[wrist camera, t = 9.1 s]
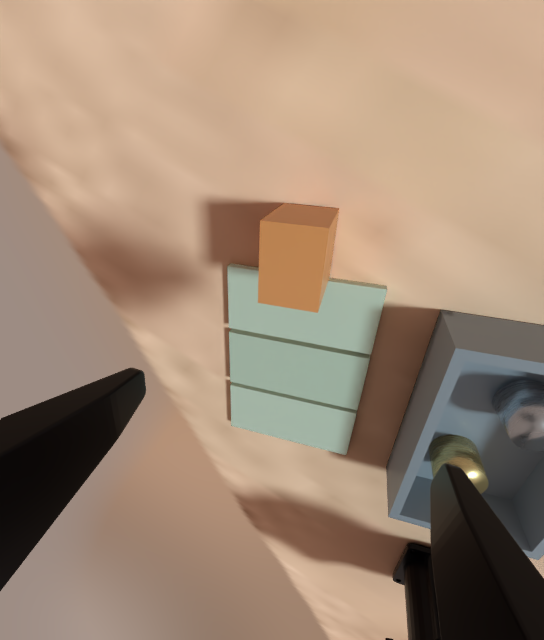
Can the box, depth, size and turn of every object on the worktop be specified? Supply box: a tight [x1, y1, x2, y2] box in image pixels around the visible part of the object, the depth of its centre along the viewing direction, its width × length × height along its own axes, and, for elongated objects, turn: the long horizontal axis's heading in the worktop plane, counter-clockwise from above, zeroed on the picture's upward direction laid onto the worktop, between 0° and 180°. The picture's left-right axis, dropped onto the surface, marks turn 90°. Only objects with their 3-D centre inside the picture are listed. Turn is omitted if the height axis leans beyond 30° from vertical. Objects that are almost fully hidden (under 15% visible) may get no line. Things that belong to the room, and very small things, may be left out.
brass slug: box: [428, 435, 488, 494], centre depth 21 cm, size 3×3×2 cm
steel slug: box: [492, 380, 544, 452], centre depth 18 cm, size 3×3×2 cm
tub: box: [386, 310, 544, 560], centre depth 19 cm, size 14×9×4 cm, turn 178°
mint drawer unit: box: [227, 203, 387, 455], centre depth 20 cm, size 18×10×5 cm, turn 178°
